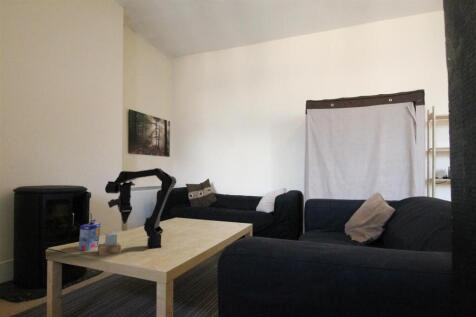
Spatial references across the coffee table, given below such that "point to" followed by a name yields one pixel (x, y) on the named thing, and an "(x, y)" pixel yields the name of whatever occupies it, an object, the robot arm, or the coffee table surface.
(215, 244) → the coffee table surface
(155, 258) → the coffee table surface
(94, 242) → the ink cartridge box
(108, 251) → the walnut block
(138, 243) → the coffee table surface
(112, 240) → the slate cube
